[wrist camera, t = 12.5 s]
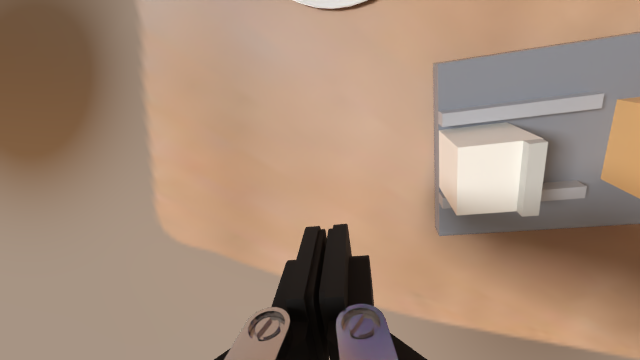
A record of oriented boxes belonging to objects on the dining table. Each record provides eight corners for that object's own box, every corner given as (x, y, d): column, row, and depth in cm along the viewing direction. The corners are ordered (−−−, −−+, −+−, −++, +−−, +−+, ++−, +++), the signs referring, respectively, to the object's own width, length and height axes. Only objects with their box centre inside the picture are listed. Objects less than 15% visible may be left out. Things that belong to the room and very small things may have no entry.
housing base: (787, 9, 16) (971, -12, 11) (713, 209, 20) (823, 256, 15) (433, 63, 19) (458, 65, 14) (435, 227, 23) (455, 271, 18)
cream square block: (506, 122, 18) (550, 141, 14) (502, 181, 20) (540, 215, 16) (438, 130, 19) (461, 150, 15) (439, 187, 21) (460, 220, 16)
